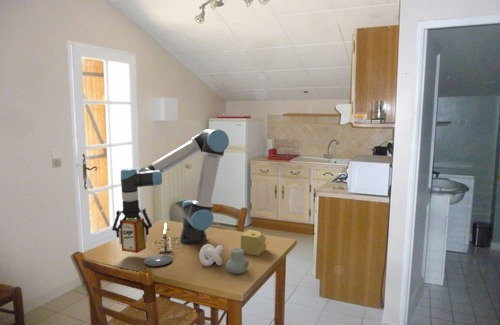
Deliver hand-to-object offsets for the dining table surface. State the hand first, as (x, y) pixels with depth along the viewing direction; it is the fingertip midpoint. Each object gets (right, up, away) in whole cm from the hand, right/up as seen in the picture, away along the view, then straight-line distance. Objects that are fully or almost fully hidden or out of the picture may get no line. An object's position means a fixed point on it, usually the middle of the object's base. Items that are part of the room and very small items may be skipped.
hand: (133, 242), depth 183 cm
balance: (+14, -7, +8) cm, 18 cm away
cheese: (+60, -7, +8) cm, 61 cm away
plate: (+14, -8, -6) cm, 17 cm away
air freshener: (+53, -10, -17) cm, 56 cm away
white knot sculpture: (+41, -9, -9) cm, 43 cm away
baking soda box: (0, -4, 0) cm, 4 cm away
